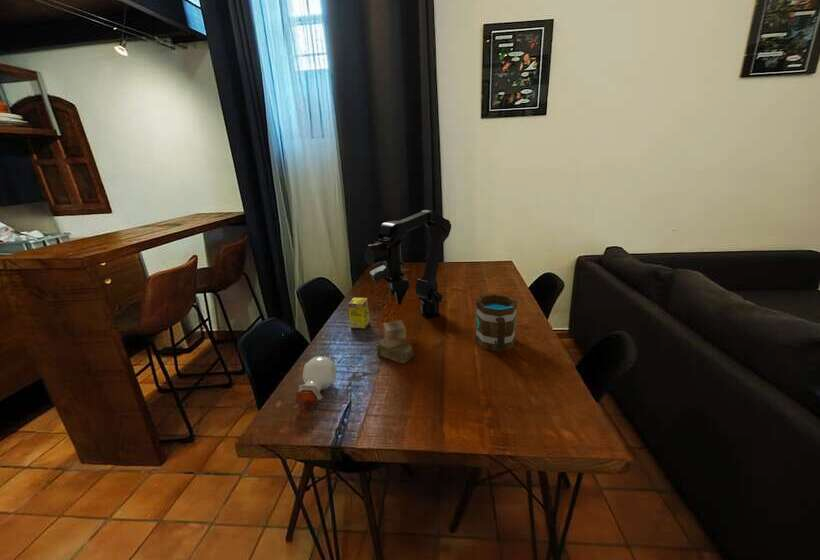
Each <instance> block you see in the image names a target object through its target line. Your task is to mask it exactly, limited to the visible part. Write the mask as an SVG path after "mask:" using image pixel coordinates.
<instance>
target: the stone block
mask: <svg viewBox="0 0 820 560" xmlns="http://www.w3.org/2000/svg"><path fill="white" fill-rule="evenodd" d="M376 351H377V356H379V357H381V358H384V359H388V360H391V361H394V362H396V363H400V364H403V365H404V364H406V363H408V362H409V361H410V360H411V359H412V358H413V357H414V350H413V345H412V343H410V342H409V343H408V342H407V345H402V346H397V347H392V348H388V345H387V343H386V341H385V337H384V338H383V339H381V340H380V341H379V342H378V344H377V345H376Z"/></svg>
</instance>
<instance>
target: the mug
mask: <svg viewBox="0 0 820 560" xmlns="http://www.w3.org/2000/svg"><path fill="white" fill-rule="evenodd" d="M475 305H476V317H475V329H476V330H475V331H476V333H475V339H474V342H475V341H476V342H477V343H478V344H477V343H476V342H475V343H476V344H477V345H478V346H479V345H480V346H479V347H480V348H481V349H482V350H483V349H484V350H489V351H493V352H497V353H498V352H499V353H502V352H504V351H508V350H512V349H513V348H514V345H515V343H516V335H515V334H516V325H517V307H518V300H516V299H515V298H513V297H512V296H511V295H505V294H498V293H491V294H486V295H485V294H484V295H480V296H479V297H478V298H477V299H476V300H475Z"/></svg>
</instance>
